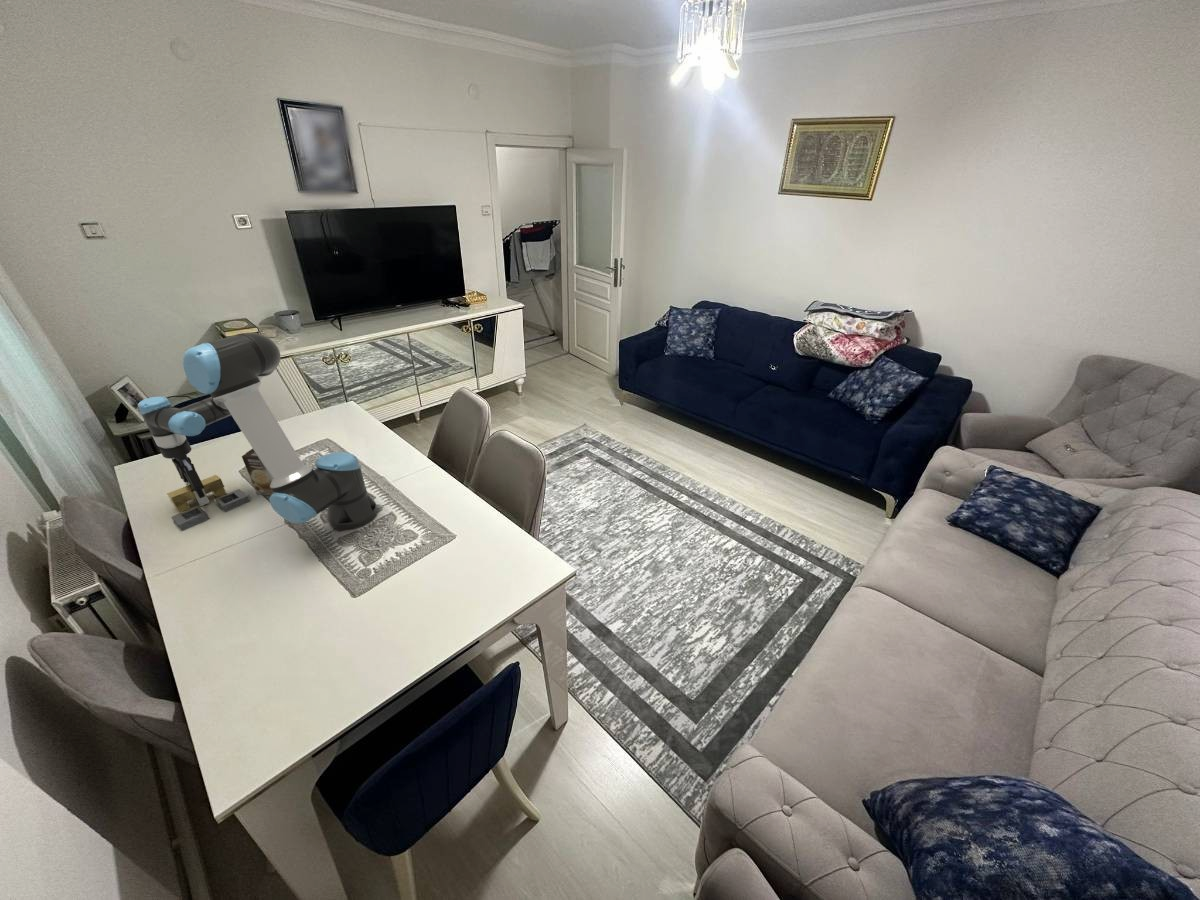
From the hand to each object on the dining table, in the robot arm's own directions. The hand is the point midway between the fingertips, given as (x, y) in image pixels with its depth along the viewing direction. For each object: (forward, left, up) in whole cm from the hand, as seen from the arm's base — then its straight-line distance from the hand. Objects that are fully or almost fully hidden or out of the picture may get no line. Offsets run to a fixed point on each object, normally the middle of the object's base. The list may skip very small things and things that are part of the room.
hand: (201, 500), depth 168 cm
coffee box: (-13, -18, -1) cm, 22 cm away
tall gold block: (0, 0, 0) cm, 0 cm away
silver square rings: (-10, 0, 0) cm, 10 cm away
